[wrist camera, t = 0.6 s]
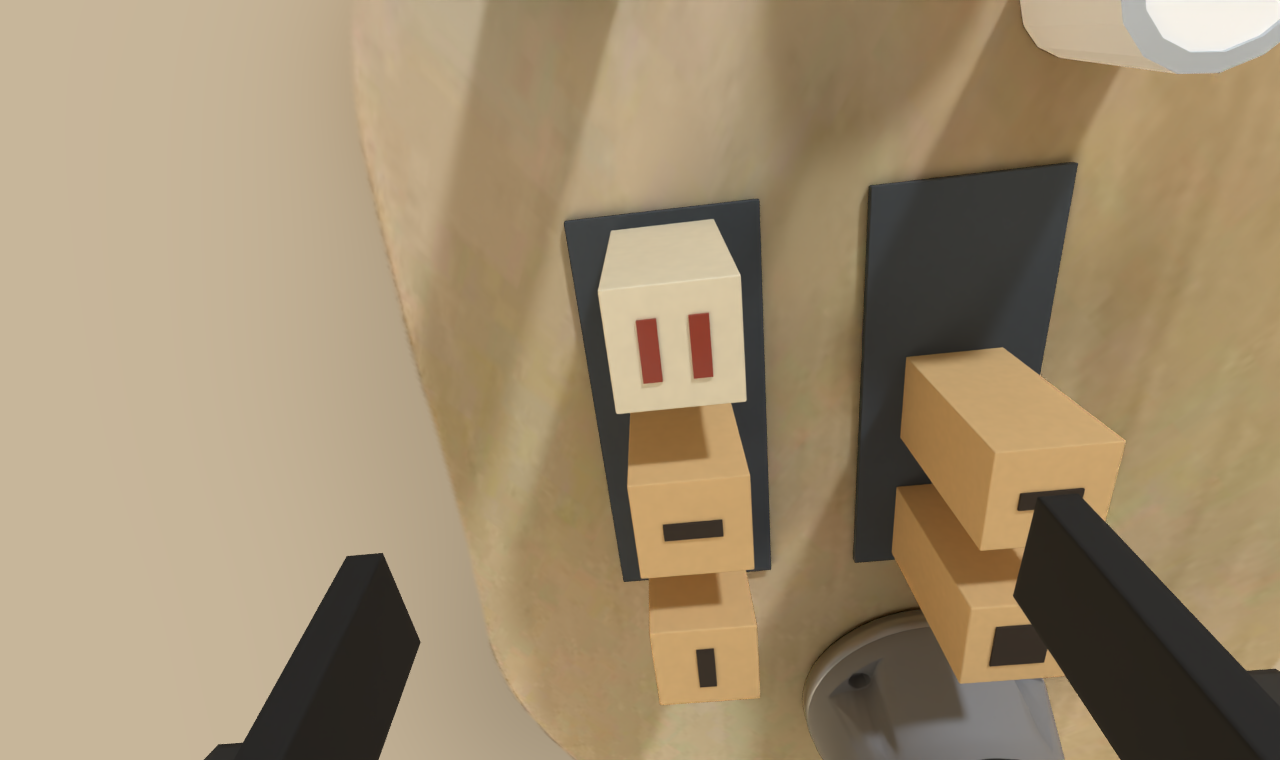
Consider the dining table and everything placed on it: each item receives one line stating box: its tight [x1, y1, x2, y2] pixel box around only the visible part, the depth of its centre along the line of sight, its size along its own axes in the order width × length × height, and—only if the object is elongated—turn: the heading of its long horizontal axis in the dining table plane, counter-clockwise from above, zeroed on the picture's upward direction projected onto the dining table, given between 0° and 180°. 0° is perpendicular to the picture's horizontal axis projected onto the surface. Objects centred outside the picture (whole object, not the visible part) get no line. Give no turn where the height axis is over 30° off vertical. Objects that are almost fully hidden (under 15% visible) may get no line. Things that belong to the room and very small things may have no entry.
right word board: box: [853, 162, 1126, 684], centre depth 29 cm, size 22×9×10 cm, turn 7°
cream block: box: [598, 219, 747, 414], centre depth 26 cm, size 5×5×9 cm
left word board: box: [564, 199, 771, 705], centre depth 30 cm, size 22×9×10 cm, turn 7°
